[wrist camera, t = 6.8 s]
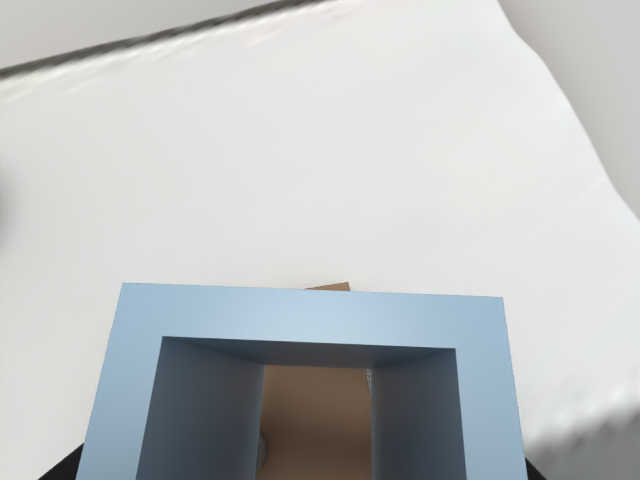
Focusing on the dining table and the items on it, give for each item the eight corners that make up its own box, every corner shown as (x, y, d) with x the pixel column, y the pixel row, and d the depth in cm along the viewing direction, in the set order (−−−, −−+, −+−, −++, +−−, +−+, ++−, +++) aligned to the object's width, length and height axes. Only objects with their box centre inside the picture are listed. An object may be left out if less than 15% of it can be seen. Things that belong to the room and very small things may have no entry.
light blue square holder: (417, 550, 13) (696, 1053, 3) (205, 538, 13) (-130, 983, 3) (408, 331, 16) (545, 251, 6) (231, 324, 16) (86, 234, 6)
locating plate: (407, 604, 18) (431, 668, 14) (116, 663, 17) (54, 748, 13) (346, 286, 23) (351, 268, 20) (124, 322, 23) (82, 311, 19)
